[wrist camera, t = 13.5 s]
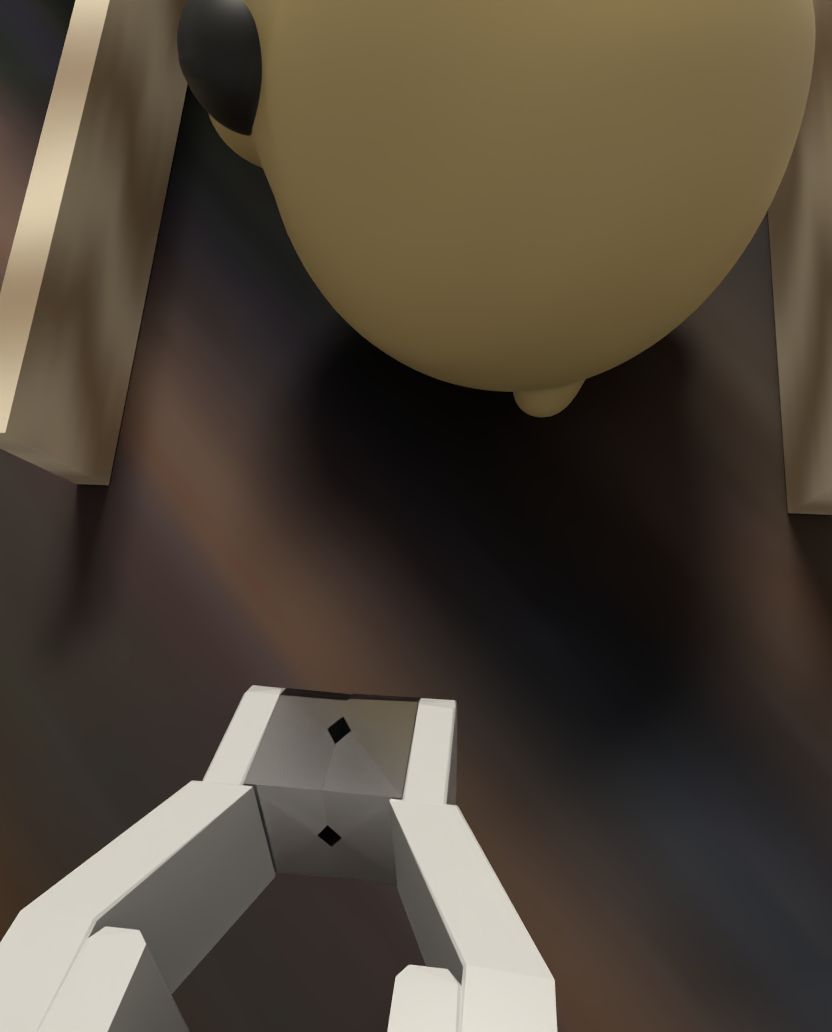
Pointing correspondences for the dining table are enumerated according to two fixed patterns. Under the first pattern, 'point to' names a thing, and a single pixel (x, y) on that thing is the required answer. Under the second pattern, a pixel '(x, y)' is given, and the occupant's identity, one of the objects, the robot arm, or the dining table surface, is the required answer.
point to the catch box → (136, 220)
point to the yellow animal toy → (510, 164)
